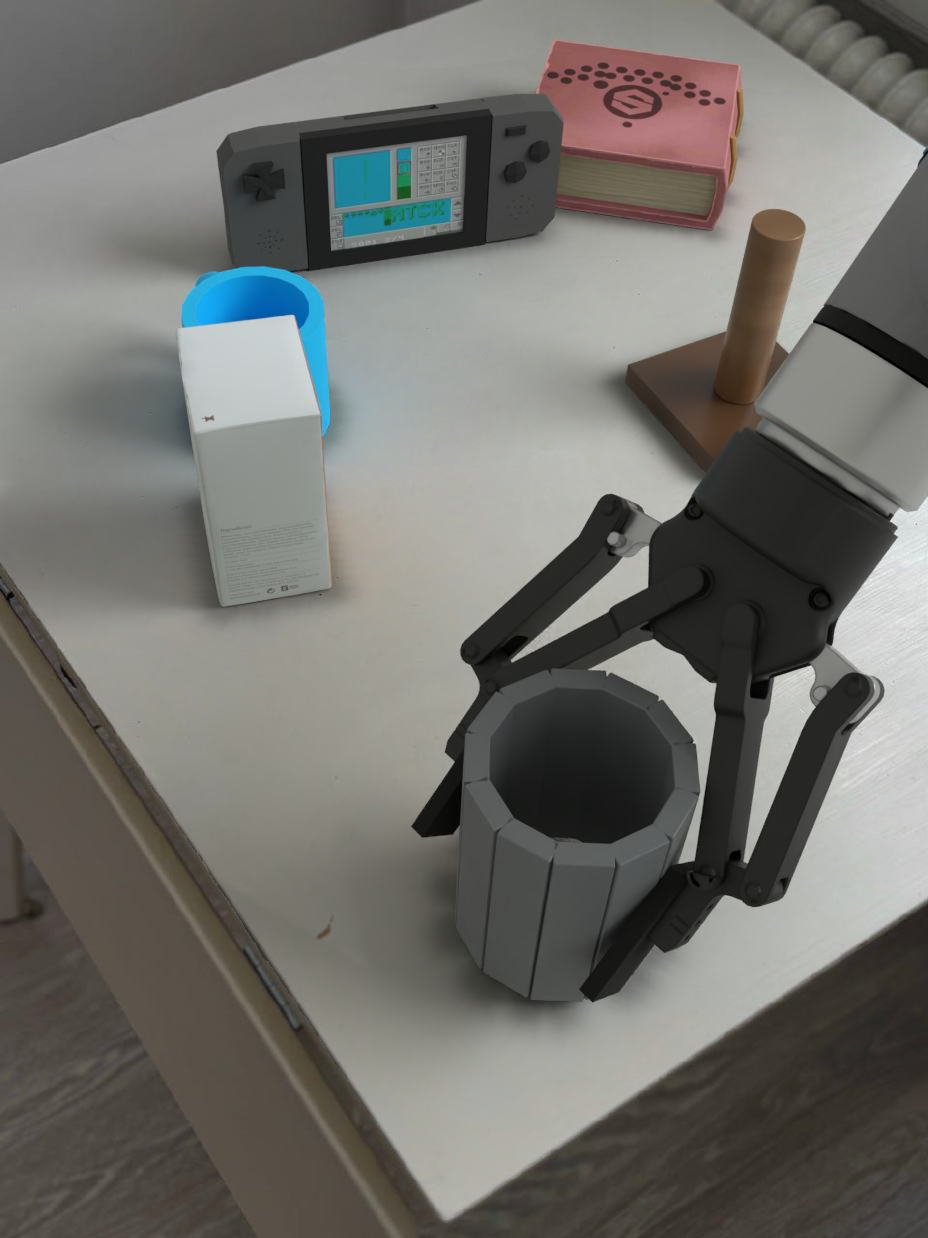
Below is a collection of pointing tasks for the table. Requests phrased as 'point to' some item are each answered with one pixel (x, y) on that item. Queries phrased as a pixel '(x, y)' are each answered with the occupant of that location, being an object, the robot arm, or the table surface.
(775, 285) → the stand
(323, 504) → the small box
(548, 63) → the book
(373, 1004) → the table surface
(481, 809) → the slatted grey tube
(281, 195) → the handheld gaming console
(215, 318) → the mug
